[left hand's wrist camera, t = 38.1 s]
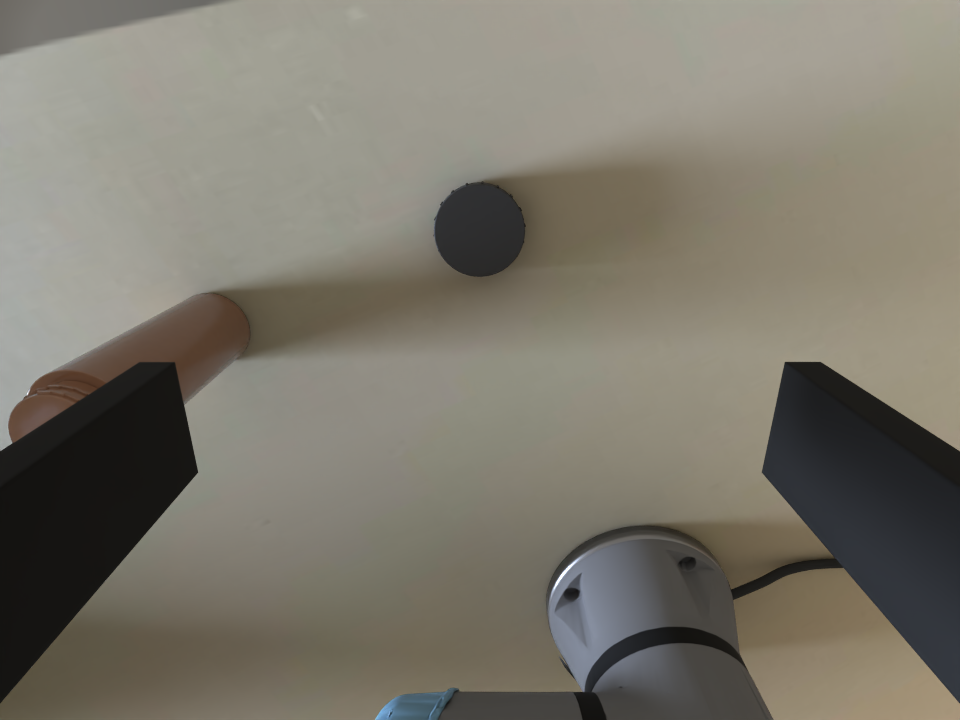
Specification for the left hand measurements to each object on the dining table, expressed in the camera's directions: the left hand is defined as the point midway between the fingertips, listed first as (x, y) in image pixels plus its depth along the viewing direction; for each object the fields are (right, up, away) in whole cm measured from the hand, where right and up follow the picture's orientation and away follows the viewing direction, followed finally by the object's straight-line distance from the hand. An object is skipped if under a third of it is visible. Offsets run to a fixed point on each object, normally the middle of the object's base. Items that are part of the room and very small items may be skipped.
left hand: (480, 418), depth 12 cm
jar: (-19, +4, +28) cm, 34 cm away
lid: (0, +10, +24) cm, 25 cm away
